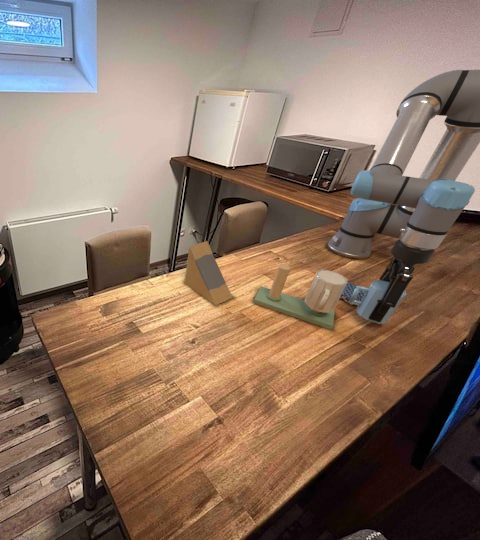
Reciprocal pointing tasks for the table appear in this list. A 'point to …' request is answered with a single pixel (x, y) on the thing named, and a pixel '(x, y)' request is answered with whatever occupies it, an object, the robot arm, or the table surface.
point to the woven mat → (349, 291)
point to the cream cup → (325, 290)
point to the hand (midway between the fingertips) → (373, 311)
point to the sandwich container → (205, 274)
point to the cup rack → (291, 302)
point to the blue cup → (373, 300)
